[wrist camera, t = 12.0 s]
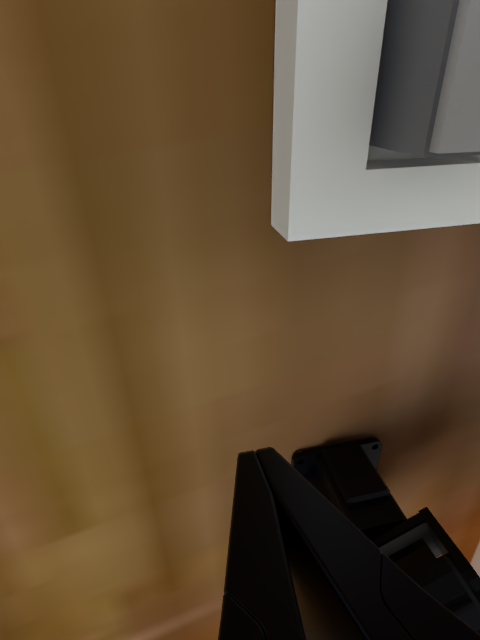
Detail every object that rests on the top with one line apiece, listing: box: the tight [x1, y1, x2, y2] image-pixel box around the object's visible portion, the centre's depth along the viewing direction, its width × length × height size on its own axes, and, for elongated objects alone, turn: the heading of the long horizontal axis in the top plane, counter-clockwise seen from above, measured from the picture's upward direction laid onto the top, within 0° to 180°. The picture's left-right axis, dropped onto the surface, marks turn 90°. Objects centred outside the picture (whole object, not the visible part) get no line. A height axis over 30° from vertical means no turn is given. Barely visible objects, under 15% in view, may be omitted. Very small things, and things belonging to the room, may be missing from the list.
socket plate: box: [271, 0, 480, 241], centre depth 17 cm, size 12×12×2 cm
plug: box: [369, 0, 480, 158], centre depth 15 cm, size 5×4×5 cm
